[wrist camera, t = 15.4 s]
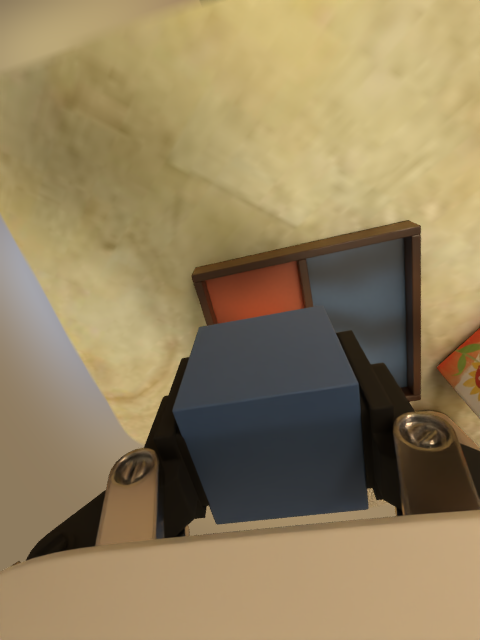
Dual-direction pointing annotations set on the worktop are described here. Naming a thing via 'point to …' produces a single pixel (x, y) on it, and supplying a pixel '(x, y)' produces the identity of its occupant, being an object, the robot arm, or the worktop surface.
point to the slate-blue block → (273, 418)
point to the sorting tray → (334, 291)
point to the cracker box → (465, 371)
